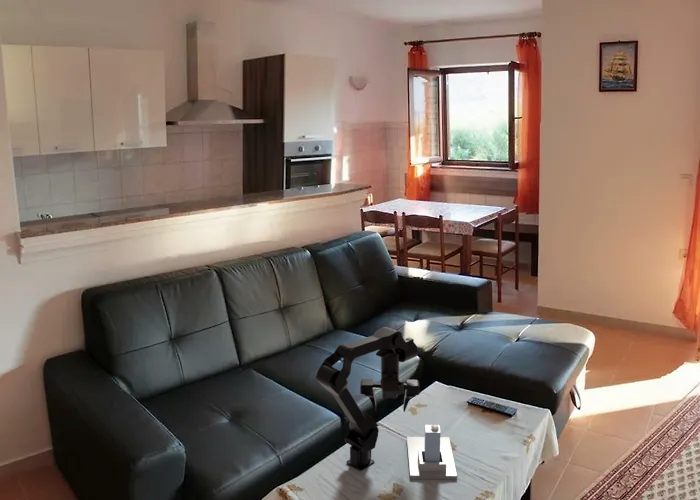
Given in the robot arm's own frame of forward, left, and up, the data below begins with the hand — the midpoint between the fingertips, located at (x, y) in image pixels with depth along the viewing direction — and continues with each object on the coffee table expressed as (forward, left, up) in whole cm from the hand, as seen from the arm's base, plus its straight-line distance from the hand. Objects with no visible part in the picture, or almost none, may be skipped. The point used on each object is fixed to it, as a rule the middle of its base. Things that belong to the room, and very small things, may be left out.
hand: (389, 411), depth 210 cm
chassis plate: (+3, -14, -13) cm, 19 cm away
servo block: (0, -17, -12) cm, 21 cm away
